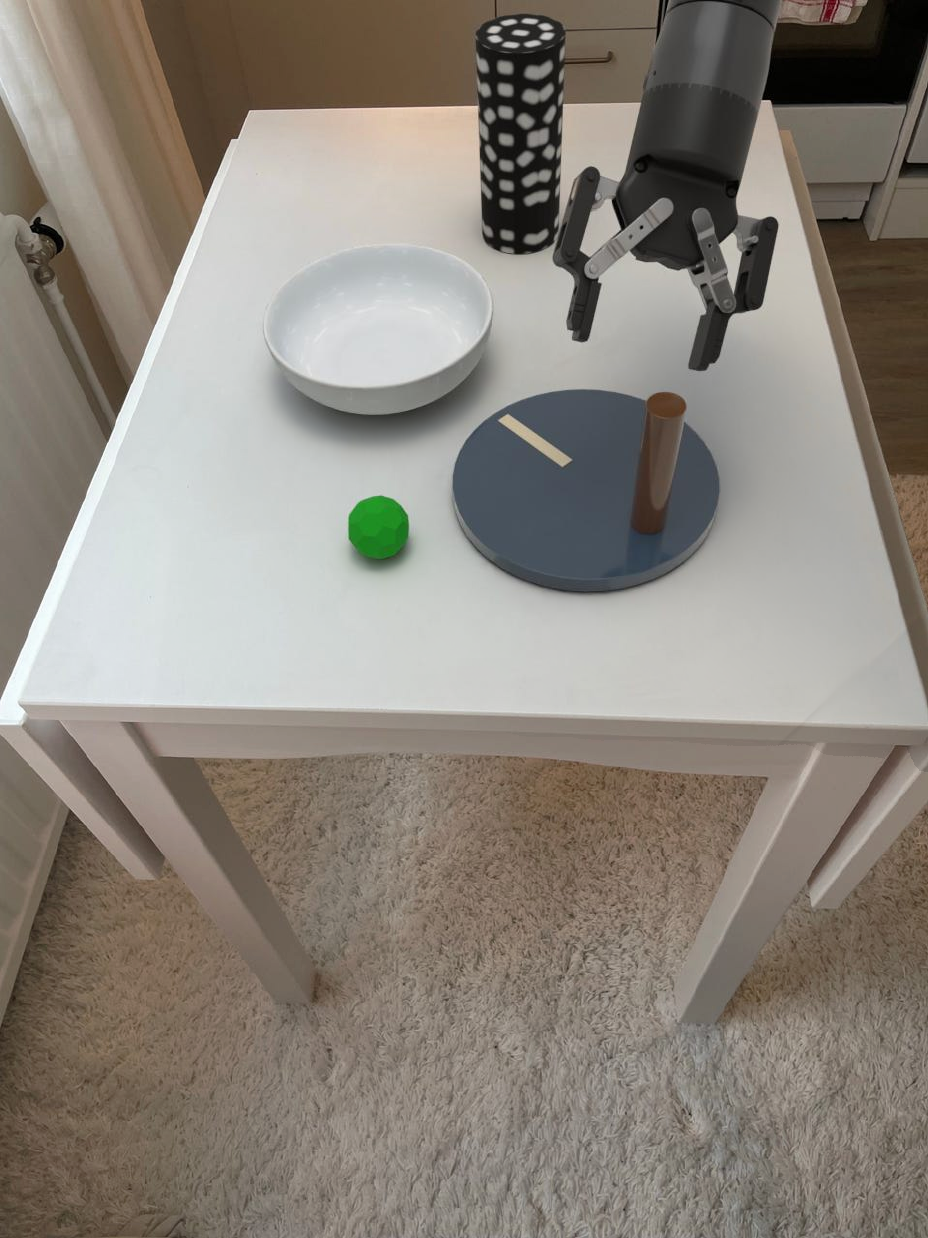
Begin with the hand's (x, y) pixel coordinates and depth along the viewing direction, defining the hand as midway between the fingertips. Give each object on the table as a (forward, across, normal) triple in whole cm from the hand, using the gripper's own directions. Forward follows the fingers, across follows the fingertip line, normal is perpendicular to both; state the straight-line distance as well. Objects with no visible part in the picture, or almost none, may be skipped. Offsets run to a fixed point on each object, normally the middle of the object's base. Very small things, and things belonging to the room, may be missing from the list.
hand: (639, 355), depth 65 cm
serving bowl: (+3, -15, +30) cm, 33 cm away
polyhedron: (+18, -14, +13) cm, 26 cm away
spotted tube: (-15, -3, +44) cm, 47 cm away
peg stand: (+10, +2, +14) cm, 17 cm away
